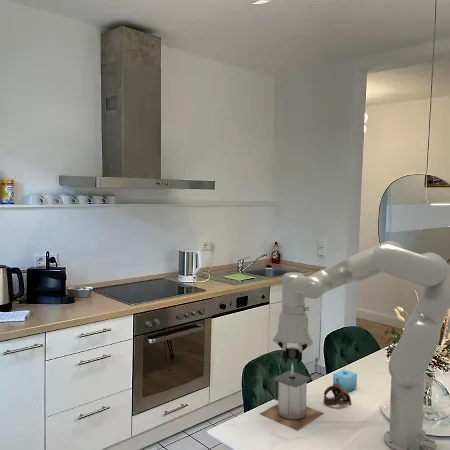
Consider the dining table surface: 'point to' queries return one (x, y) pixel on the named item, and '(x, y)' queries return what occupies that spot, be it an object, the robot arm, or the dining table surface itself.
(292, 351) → the plunger
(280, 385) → the press carafe
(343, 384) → the blue square teapot
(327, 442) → the dining table surface
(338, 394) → the brown curved piece
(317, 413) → the walnut board
